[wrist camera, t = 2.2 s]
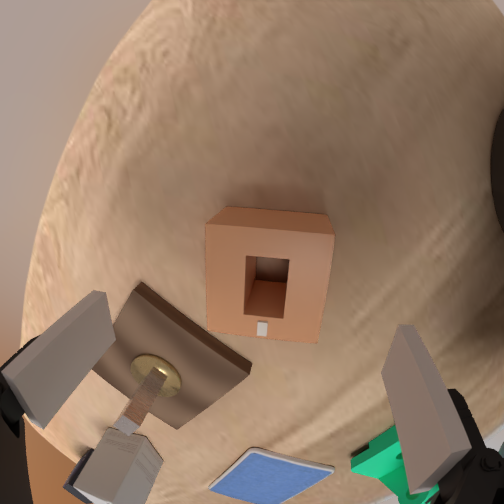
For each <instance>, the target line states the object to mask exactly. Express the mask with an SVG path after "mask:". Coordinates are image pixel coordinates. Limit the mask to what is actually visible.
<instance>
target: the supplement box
mask: <svg viewBox="0 0 504 504" xmlns="http://www.w3.org/2000/svg"><path fill="white" fill-rule="evenodd" d="M162 463H163V460H162V459H161V457H160V456H159V455H158V453H157V452H156V450H155V449H154V448H153V446H152V445H151V443H150V442H149V441H148V439H147V438H146V437H145V436H141V435H137V434H131V435H130V436H127V435H126V434H124V433H123V432H121V431H120V430H117V429H113V428H108V429H107V430H106V432H105V434H104V435H103V437H102V438H101V440H100V442H99V443H98V445H97V447H96V448H95V450H94V452H93V453H92V455H91V456H90V458H89V460H88V461H87V463H86V465H85V466H84V468H83V470H82V471H81V473H80V475H79V476H78V478H77V480H76V481H75V483H74V485H73V487H74V488H76V489H77V490H78V491H79V492H80V493H82V494H83V495H84V496H85V497H87V498H88V499H89V500H90V501H92V502H93V503H94V504H145V502H146V500H147V498H148V495H149V493H150V491H151V488H152V486H153V484H154V482H155V479H156V477H157V475H158V472H159V470H160V468H161V465H162Z"/></svg>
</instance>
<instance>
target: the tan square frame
mask: <svg viewBox="0 0 504 504" xmlns="http://www.w3.org/2000/svg"><path fill="white" fill-rule="evenodd" d="M334 242H335V233H334V230H333V228H332V226H331V223H330V221H329V218H328V216H327V215H324V214H314V213H304V212H292V211H281V210H269V209H256V208H242V207H225V208H224V209H223V210H222V211H220V212H219V213H218V214H217V215H215V216H214V217H213V218H212V219H211V220H209V221H208V222H207V223H206V224H205V259H206V304H207V331H213V332H220V333H227V334H234V335H241V336H249V337H257V338H266V339H275V340H284V341H295V342H306V343H318V338H319V333H320V328H321V322H322V317H323V312H324V306H325V300H326V295H327V289H328V283H329V276H330V270H331V263H332V256H333V249H334ZM257 256H258V257H269V258H279V259H290V260H289V271H288V281H287V283H281V282H271V281H262V280H255V277H256V258H257Z"/></svg>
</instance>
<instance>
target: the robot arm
mask: <svg viewBox="0 0 504 504" xmlns="http://www.w3.org/2000/svg"><path fill="white" fill-rule="evenodd" d="M491 177H492V190H493V197H494V203H495V208H496V212H497V216H498V219H499V222H500V225H501V227H502V229H503V232H504V109H503V111H502V113H501V115H500V118H499V120H498V123H497V126H496V130H495V135H494V140H493V147H492V159H491ZM115 340H116V338H115V333H114V329H113V325H112V320H111V316H110V311H109V306H108V301H107V296H106V292H101V291H96V290H93V291H92V292H91V293H90V294H88V295H87V296H86V297H85V298H83V299H82V300H81V301H80V302H79V303H77V304H76V305H75V306H74V307H73V308H71V309H70V310H69V311H68V312H67V313H65V314H64V315H63V316H62V317H61V318H60V319H58V320H57V321H56V322H55V323H54V324H53V325H51V326H50V327H49V328H48V329H47V330H46V331H45V332H43V333H42V334H41V335H39V336H37V337H35V338H33V339H31V340H30V341H28V342H27V343H26V344H25V345H24V346H23V348H21V349H20V350H18V351H17V353H15V354H14V355H13V356H12V357H11V358H10V359H9V360H8V361H7V362H6V363H4V364H3V365H2V366H1V367H0V504H33V500H32V494H31V489H30V482H29V475H28V467H27V457H26V446H25V426H24V425H25V423H24V419H23V418H22V415H23V414H24V413H26V415H27V416H28V418H29V419H30V421H31V422H32V423H34V424H35V425H37V426H38V427H40V428H42V429H43V430H44V429H45V427H46V426H47V425H48V423H49V422H50V421H51V419H52V418H53V417H54V415H55V414H56V413H57V412H58V410H59V409H60V408H61V406H62V405H63V404H64V403H65V401H66V400H67V399H68V397H69V396H70V395H71V394H72V392H73V391H74V390H75V389H76V387H77V386H78V385H79V384H80V382H81V381H82V380H83V379H84V377H85V376H86V375H87V374H88V373H89V371H90V370H91V369H92V368H93V366H94V365H95V364H96V363H97V362H98V360H99V359H100V358H101V357H102V356H103V354H104V353H105V352H106V351H107V350H108V348H109V347H110V346H111V345H112V344H113V343H114V341H115ZM381 374H382V377H383V381H384V384H385V388H386V391H387V395H388V399H389V402H390V406H391V410H392V414H393V418H394V421H395V425H396V430H397V434H398V438H399V442H400V447H401V451H402V456H403V460H404V465H405V470H406V475H407V480H408V486H409V492H410V495H411V494H416V493H421V492H425V491H429V490H430V489H431V488H433V487H434V486H435V485H436V484H437V483H438V487H439V490H438V491H437V492H436V493H435V494H434V495H432V496H431V497H430V498H429V499H428V500H427V501H426V502H425V504H428V503H429V502H430V501H431V502H430V504H504V442H503V444H502V446H501V448H500V450H499V452H497V451H496V450H494V449H491V448H486V446H485V444H484V441H483V439H482V436H481V434H480V432H479V429H478V427H477V425H476V423H475V420H474V418H473V417H472V414H471V412H470V410H469V409H468V405H467V403H466V401H465V399H464V397H463V396H462V395H461V394H460V393H459V392H458V391H457V390H456V389H447V388H446V386H445V384H444V382H443V380H442V378H441V376H440V374H439V372H438V370H437V368H436V366H435V364H434V362H433V360H432V358H431V356H430V354H429V352H428V350H427V348H426V347H425V345H424V343H423V341H422V339H421V337H420V335H419V334H418V332H417V330H416V328H415V326H414V325H398V327H397V330H396V333H395V336H394V339H393V342H392V345H391V348H390V350H389V353H388V356H387V358H386V361H385V364H384V366H383V369H382V371H381Z"/></svg>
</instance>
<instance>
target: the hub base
mask: <svg viewBox="0 0 504 504" xmlns="http://www.w3.org/2000/svg"><path fill="white" fill-rule="evenodd" d="M113 329H114V333H115V338H116V340H115V341H114V343H113V344H112V345H111V346H110V347H109V348H108V350H107V351H106V352H105V353H104V354H103V356H102V357H101V358H100V359H99V360H98V362H97V363H96V364H95V365H94V366H93V368H92V370H93V371H94V372H96V373H97V374H98V375H99V376H101V377H102V378H103V379H104V380H106V381H107V382H108V383H109V384H111V385H112V386H113V387H115V388H116V389H117V390H119V391H120V392H121V393H123V394H124V395H125V396H127V397H128V398H129V399H130V400H129V401H128V403H127V404H126V406H125V408H124V409H123V411H122V412H121V414H120V415H119V417H118V419H117V420H116V422H115V423H114V425H113V426H114V427H116V428H117V429H118V430H120V431H121V432H123V433H124V434H126V435H127V436H130V435H131V434H132V433H133V432H134V431H135V430H137V429H138V428H139V427H140V426H141V424H142V422H143V420H144V418H145V416H146V415H147V413H148V412H150V413H151V414H153V415H154V416H156V417H157V418H159V419H160V420H162V421H163V422H165V423H167V424H168V425H170V426H172V427H173V428H175V429H179V428H180V427H181V426H183V425H184V424H186V423H187V422H189V421H190V420H191V419H193V418H194V417H195V416H197V415H198V414H200V413H201V412H202V411H204V410H205V409H206V408H208V407H209V406H210V405H212V404H213V403H214V402H216V401H217V400H218V399H220V398H221V397H222V396H223V395H225V394H226V393H227V392H229V391H230V390H231V389H232V388H234V387H235V386H236V385H237V384H239V383H240V382H241V381H242V380H244V379H245V378H246V377H247V376H249V375H250V371H251V367H252V363H250V362H249V361H247V360H246V359H244V358H243V357H241V356H240V355H238V354H237V353H236V352H234V351H233V350H231V349H230V348H228V347H227V346H225V345H224V344H223V343H221V342H220V341H218V340H217V339H215V338H214V337H213V336H211V335H210V334H209V333H207V332H206V331H204V330H203V329H202V328H200V327H199V326H198V325H196V324H195V323H193V322H192V321H191V320H189V319H188V318H187V317H185V316H184V315H183V314H182V313H180V312H179V311H178V310H176V309H175V308H174V307H172V306H171V305H170V304H169V303H167V302H166V301H165V300H163V299H162V298H161V297H160V296H158V295H157V294H156V293H155V292H153V291H152V290H151V289H150V288H149V287H147V286H146V285H145V284H144V283H142V282H141V283H140V284H139V285H138V286H137V287H136V288H135V289H134V290H133V291H132V293H131V295H130V297H129V298H128V300H127V302H126V304H125V305H124V307H123V309H122V311H121V312H120V314H119V316H118V318H117V320H116V322H115V323H114V325H113Z"/></svg>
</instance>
